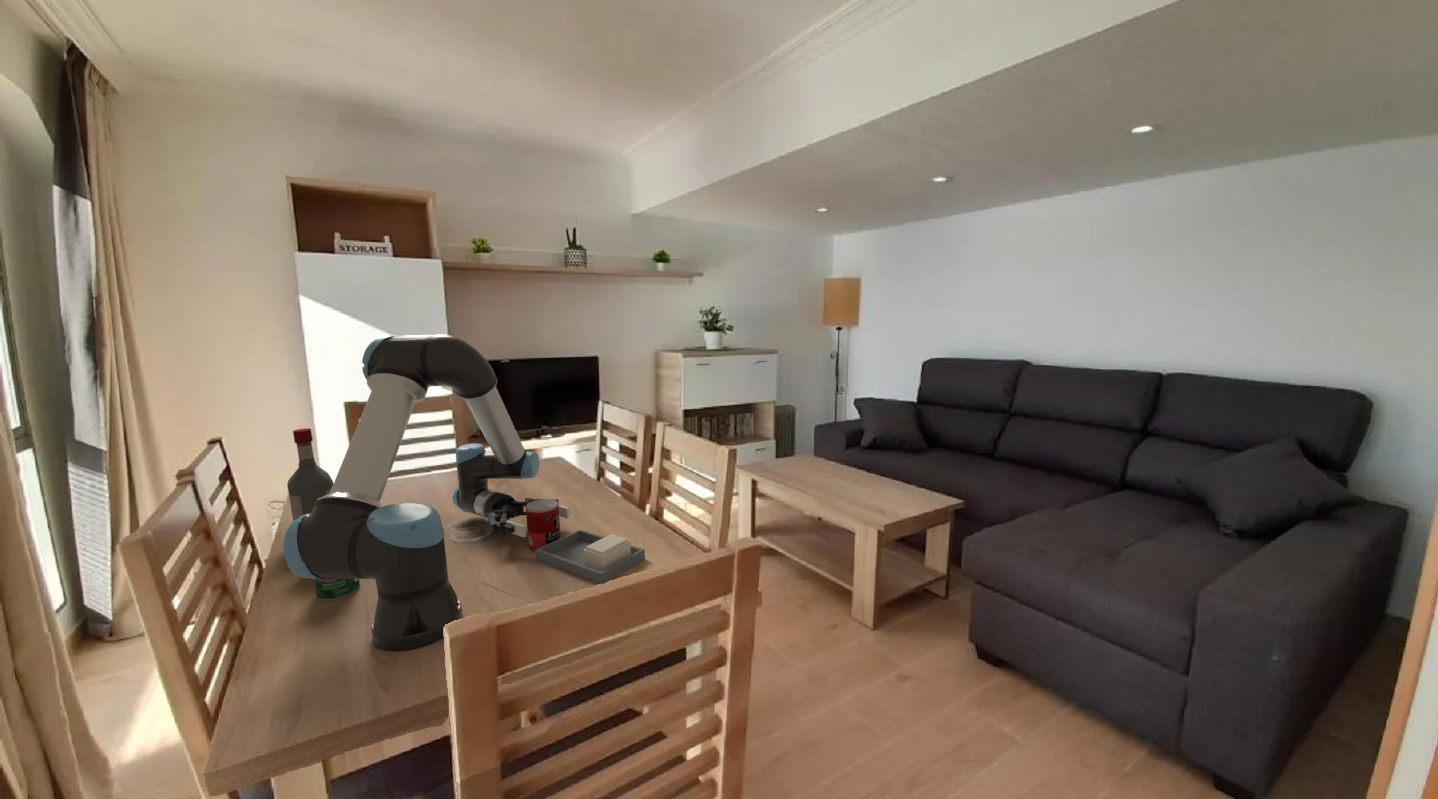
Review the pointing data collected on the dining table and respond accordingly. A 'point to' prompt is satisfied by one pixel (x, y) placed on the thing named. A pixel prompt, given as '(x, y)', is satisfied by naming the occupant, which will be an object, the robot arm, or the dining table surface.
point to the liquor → (306, 477)
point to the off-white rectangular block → (606, 552)
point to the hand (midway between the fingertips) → (547, 522)
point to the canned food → (542, 522)
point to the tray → (571, 556)
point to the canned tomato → (335, 588)
